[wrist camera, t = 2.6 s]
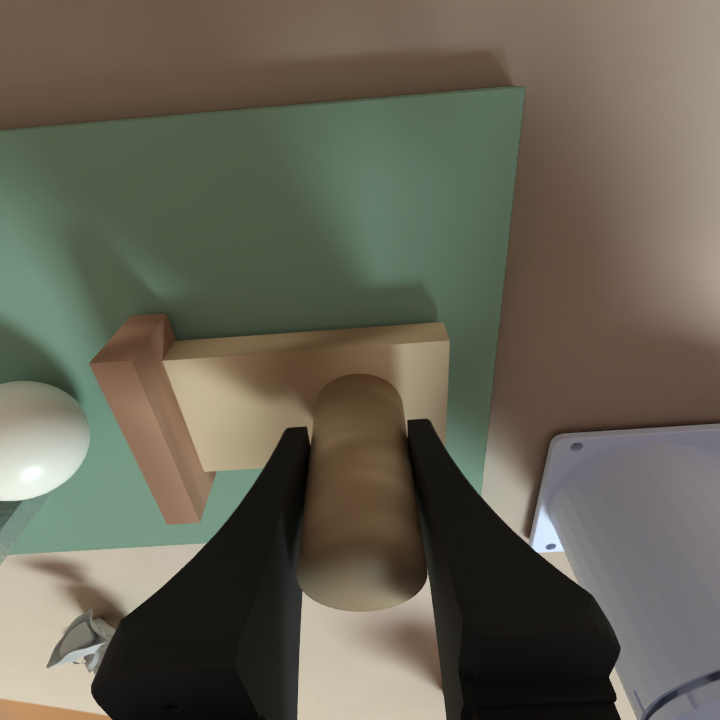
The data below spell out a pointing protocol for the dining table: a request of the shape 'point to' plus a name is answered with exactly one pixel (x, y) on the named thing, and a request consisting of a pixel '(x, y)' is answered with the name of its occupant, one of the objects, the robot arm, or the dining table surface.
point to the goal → (16, 520)
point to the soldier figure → (83, 642)
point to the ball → (39, 438)
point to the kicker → (284, 410)
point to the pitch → (249, 261)
